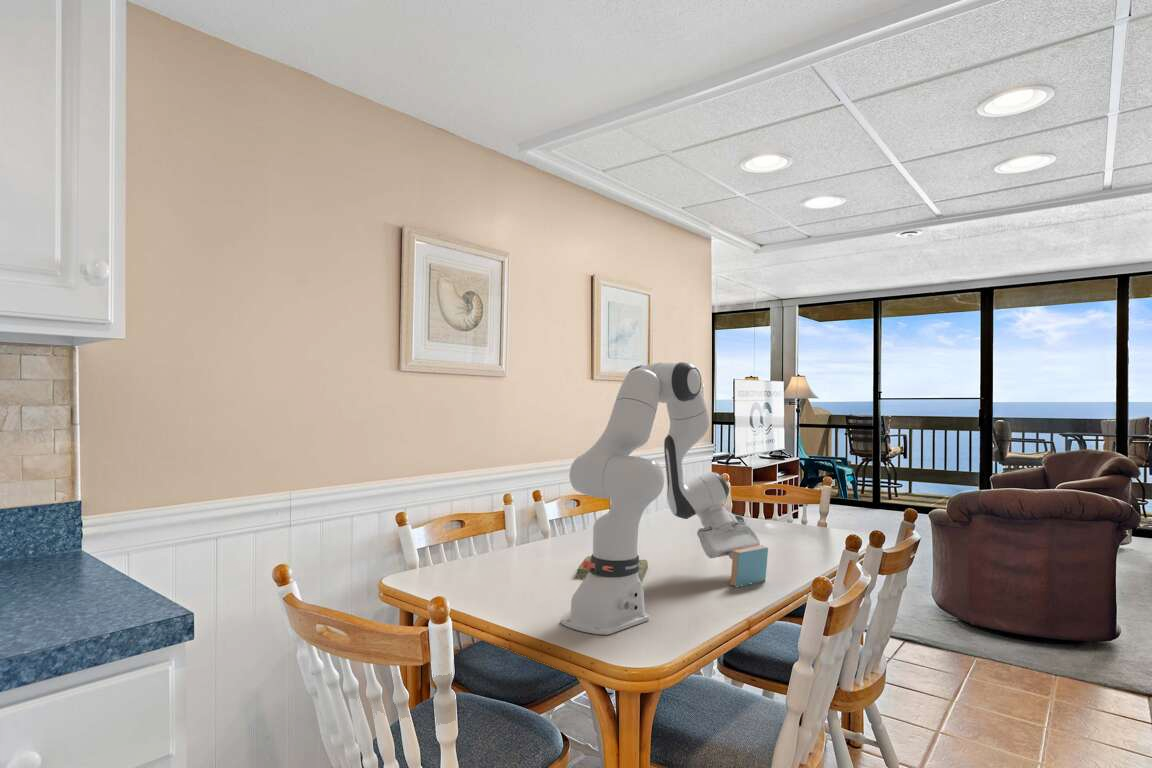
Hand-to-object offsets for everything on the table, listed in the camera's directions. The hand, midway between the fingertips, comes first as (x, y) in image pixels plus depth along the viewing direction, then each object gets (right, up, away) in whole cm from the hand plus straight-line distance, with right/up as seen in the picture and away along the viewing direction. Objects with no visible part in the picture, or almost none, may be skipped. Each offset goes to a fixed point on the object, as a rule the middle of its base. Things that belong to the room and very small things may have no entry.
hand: (744, 565), depth 184 cm
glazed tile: (+1, -5, -1) cm, 5 cm away
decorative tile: (-38, -6, +8) cm, 39 cm away
